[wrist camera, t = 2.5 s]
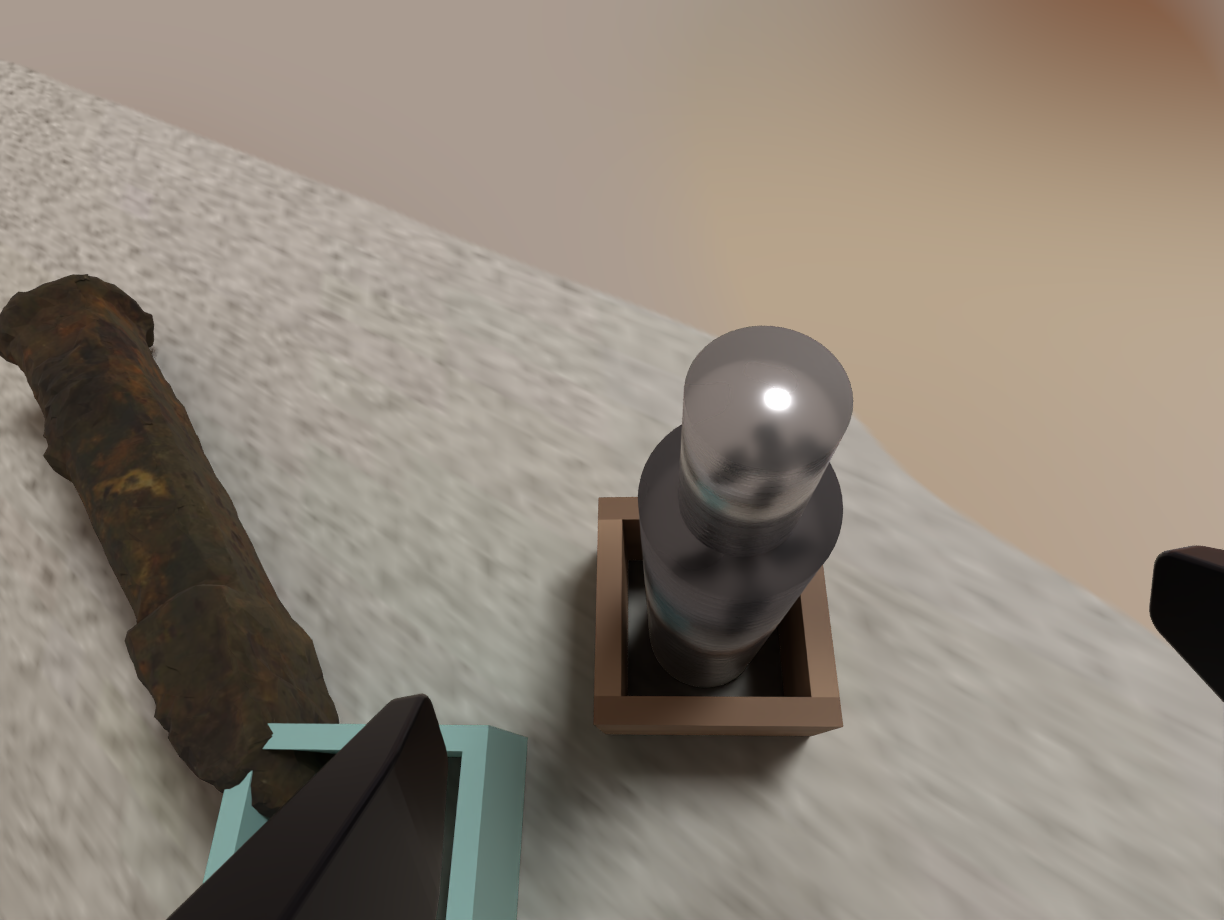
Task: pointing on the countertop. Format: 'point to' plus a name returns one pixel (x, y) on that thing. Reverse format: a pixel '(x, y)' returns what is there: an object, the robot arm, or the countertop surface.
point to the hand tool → (169, 540)
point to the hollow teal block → (482, 816)
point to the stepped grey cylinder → (741, 499)
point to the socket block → (796, 714)
